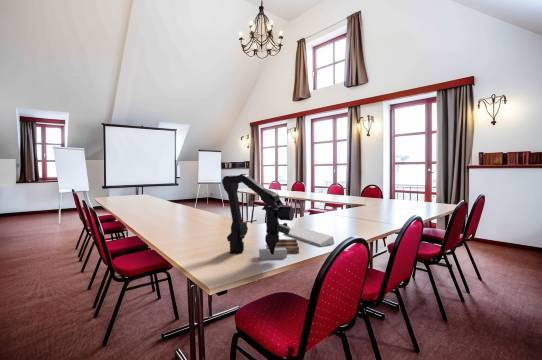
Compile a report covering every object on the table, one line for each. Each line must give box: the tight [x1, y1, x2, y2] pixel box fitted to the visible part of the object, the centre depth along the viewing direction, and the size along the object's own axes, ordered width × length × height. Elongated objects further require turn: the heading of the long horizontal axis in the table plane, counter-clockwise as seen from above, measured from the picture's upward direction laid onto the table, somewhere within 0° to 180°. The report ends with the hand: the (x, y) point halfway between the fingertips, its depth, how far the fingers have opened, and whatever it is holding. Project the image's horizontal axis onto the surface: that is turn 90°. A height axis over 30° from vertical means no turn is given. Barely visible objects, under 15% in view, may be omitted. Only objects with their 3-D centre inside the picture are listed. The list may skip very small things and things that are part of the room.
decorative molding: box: [287, 225, 335, 247], centre depth 164 cm, size 34×5×10 cm
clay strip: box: [258, 248, 288, 260], centre depth 131 cm, size 13×4×4 cm, turn 99°
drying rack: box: [266, 238, 300, 254], centre depth 145 cm, size 16×16×3 cm
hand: (272, 251), depth 131 cm, fingers open, 9 cm apart
